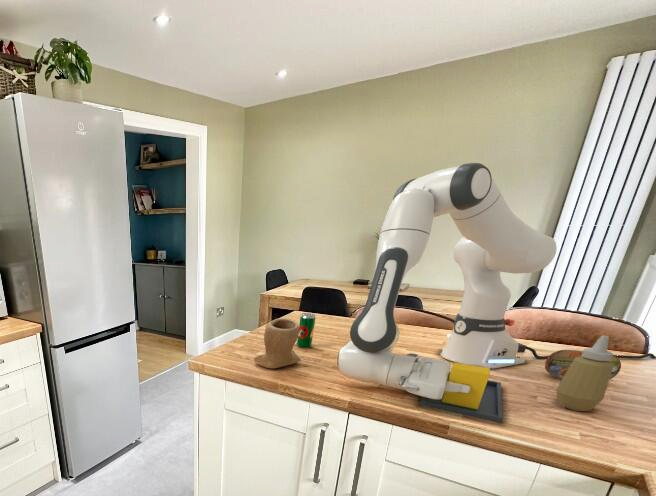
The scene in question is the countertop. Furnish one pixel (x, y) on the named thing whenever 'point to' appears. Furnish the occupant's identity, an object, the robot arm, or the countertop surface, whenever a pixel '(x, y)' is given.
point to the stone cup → (279, 344)
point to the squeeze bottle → (586, 378)
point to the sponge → (470, 376)
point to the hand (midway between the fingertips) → (470, 385)
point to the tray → (487, 408)
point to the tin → (564, 358)
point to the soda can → (306, 330)
